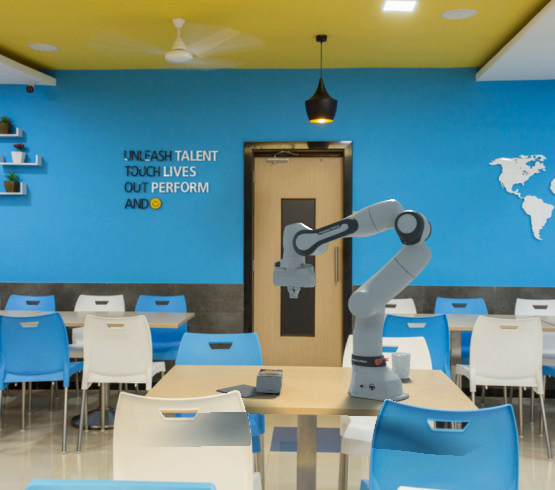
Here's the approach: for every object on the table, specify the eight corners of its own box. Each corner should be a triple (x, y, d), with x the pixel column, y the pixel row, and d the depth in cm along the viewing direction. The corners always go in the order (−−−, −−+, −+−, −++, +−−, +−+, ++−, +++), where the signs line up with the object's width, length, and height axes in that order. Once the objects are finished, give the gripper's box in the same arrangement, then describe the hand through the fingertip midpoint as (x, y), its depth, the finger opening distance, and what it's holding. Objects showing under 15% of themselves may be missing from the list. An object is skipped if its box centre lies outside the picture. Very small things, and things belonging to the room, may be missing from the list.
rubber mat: (272, 391, 219) (272, 390, 219) (245, 398, 208) (245, 397, 208) (243, 385, 230) (243, 384, 230) (216, 390, 219) (216, 389, 220)
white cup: (391, 378, 243) (391, 354, 243) (391, 375, 251) (391, 351, 251) (410, 379, 241) (410, 355, 241) (410, 376, 249) (410, 352, 249)
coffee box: (256, 374, 214) (259, 368, 230) (255, 392, 213) (258, 384, 229) (281, 376, 213) (282, 369, 229) (280, 393, 213) (281, 386, 229)
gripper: (318, 263, 229) (318, 299, 229) (281, 263, 243) (280, 296, 243) (308, 263, 224) (308, 299, 224) (270, 263, 239) (270, 297, 238)
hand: (293, 298), depth 234 cm, fingers closed
